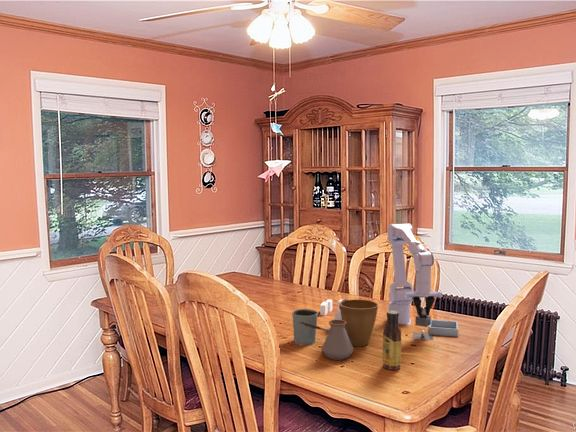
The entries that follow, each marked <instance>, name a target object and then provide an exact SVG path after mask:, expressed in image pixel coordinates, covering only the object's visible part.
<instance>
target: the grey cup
mask: <svg viewBox="0 0 576 432" xmlns="http://www.w3.org/2000/svg"><path fill="white" fill-rule="evenodd" d="M291 314H292V316H291V317H292V327H293V342H294V343H295V344H296V345H300V346H309V345H313V344H315V343H316V337H317V336H316V335H317V329H315V328H311V327H309V326H305V325H304V324H302V326H301V323H300V322H304V323H306V322H307V323H308V324H313V325H316V326H318V315H319V313H318V311H317V310H314V309H310V308H301V309H300V308H299V309H296V310H293V311H292V313H291ZM298 324H299V326H298Z"/></svg>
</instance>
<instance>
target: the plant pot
mask: <svg viewBox="0 0 576 432" xmlns="http://www.w3.org/2000/svg"><path fill="white" fill-rule="evenodd" d="M378 308H379V304H378V303H377V302H375V301H373V300H372V301H371V300H368V299H367V300H366V299H347V300H346V301H342V302H340V311H341V317H342V320H344V321H346V324H345V330H346V332H347V335H348V337H349V339H350V342H351V344H352V346H353V347H365V346H367V345H368V344H369V342H370V338H371V336H372V333H373V331H374V327H375V324H376V319H377V315H378V314H377V313H378Z"/></svg>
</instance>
